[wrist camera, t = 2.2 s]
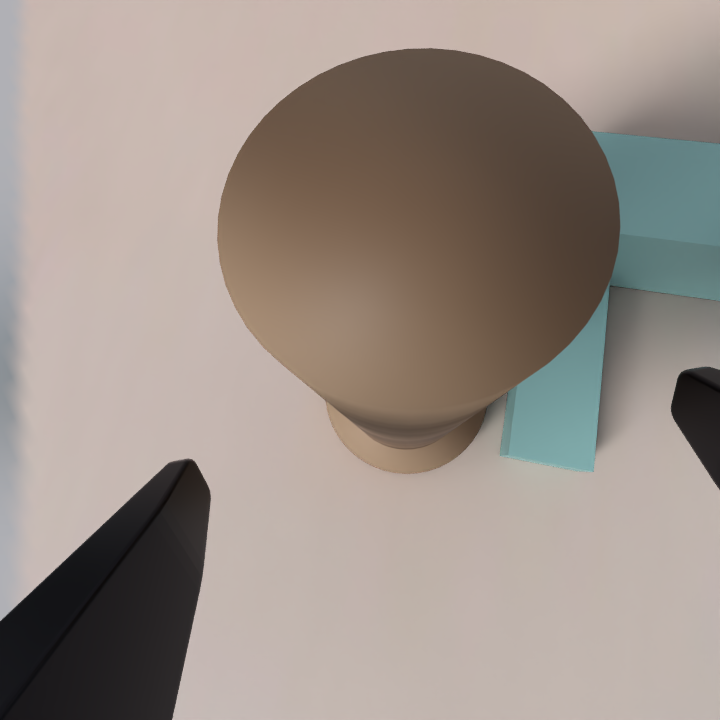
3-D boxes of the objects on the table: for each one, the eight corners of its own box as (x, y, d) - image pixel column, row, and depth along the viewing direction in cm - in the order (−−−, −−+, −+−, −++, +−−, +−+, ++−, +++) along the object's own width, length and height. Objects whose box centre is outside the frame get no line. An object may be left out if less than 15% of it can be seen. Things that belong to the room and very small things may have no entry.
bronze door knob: (449, 499, 18) (608, 617, 4) (305, 435, 19) (48, 358, 5) (503, 354, 19) (772, 62, 5) (365, 302, 20) (283, -51, 6)
